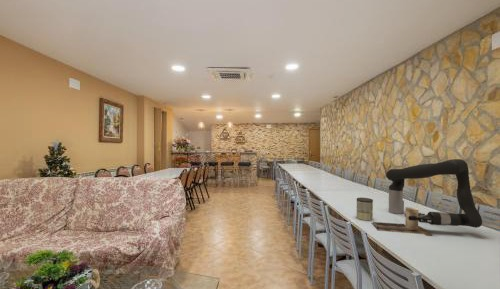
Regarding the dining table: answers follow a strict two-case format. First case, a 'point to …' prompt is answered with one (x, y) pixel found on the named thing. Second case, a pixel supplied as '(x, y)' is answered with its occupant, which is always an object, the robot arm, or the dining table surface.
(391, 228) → the board
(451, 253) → the dining table surface
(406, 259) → the dining table surface
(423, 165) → the robot arm
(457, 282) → the dining table surface
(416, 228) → the birch block
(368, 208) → the coffee can
